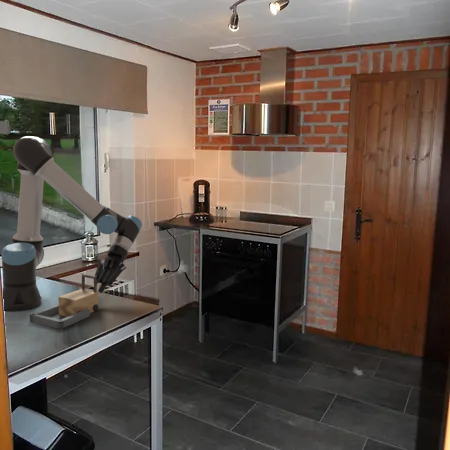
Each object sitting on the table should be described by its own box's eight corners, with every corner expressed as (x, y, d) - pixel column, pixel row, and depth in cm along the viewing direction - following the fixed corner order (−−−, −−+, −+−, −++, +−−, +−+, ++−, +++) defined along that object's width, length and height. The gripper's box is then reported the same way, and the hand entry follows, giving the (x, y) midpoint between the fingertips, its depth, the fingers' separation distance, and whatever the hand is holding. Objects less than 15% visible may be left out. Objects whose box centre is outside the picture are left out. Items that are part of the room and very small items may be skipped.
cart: (57, 314, 167) (57, 280, 165) (81, 305, 178) (81, 273, 176) (76, 319, 163) (76, 284, 161) (99, 310, 174) (99, 276, 172)
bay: (30, 321, 159) (29, 314, 159) (60, 309, 172) (60, 303, 172) (60, 329, 154) (60, 322, 153) (89, 316, 167) (89, 309, 166)
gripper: (136, 256, 189) (111, 306, 177) (111, 252, 194) (85, 301, 182) (129, 245, 183) (102, 297, 171) (103, 242, 189) (75, 291, 176)
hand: (93, 299), depth 176 cm, fingers closed
